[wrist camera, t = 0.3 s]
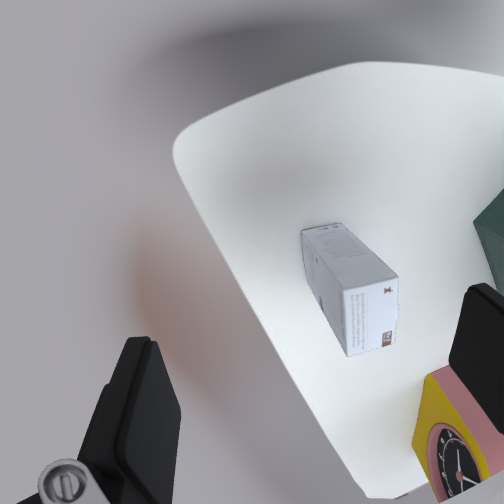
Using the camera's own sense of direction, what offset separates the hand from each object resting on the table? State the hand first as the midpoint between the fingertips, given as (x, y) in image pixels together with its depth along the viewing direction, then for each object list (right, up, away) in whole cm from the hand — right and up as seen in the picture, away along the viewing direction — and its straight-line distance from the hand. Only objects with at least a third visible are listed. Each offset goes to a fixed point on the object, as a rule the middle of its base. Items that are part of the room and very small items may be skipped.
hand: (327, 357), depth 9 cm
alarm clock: (+30, -23, +35) cm, 52 cm away
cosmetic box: (+5, +3, +24) cm, 24 cm away
